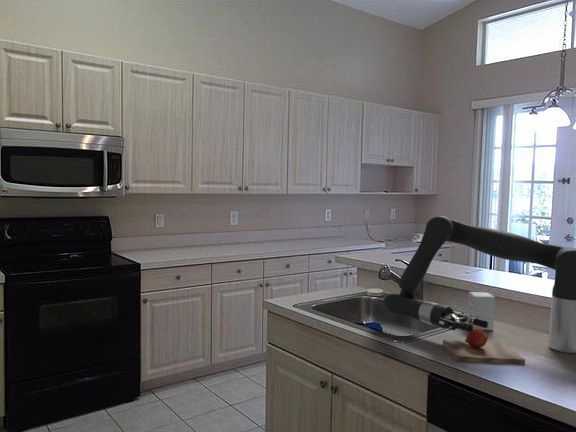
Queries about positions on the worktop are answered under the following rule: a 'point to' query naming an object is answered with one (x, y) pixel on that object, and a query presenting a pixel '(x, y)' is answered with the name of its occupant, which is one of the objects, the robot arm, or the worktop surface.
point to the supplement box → (482, 308)
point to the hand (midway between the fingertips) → (480, 326)
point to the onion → (476, 338)
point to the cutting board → (483, 352)
